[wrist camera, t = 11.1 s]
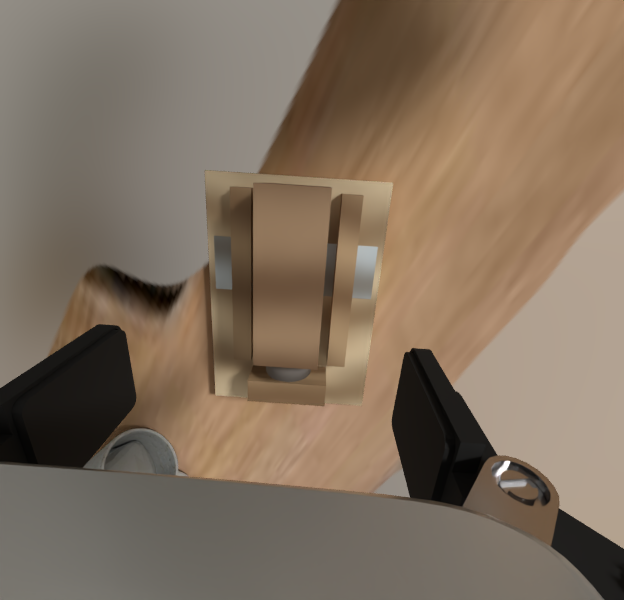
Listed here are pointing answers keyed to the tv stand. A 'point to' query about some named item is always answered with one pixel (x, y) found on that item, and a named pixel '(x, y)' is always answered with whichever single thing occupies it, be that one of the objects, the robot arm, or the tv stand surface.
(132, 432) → the ceramic mug
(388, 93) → the tv stand surface
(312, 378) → the jig
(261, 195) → the brown wooden block
